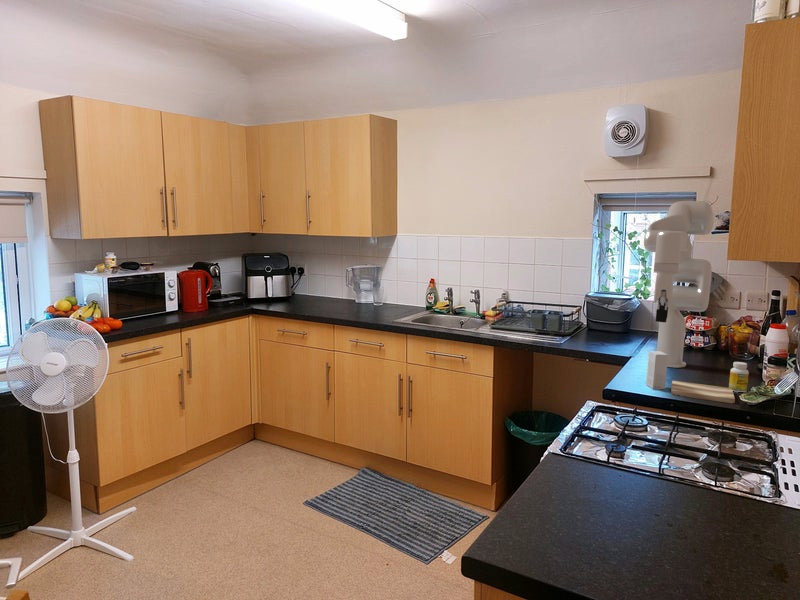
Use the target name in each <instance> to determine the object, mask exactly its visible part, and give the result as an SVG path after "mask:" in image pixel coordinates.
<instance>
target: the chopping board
mask: <svg viewBox="0 0 800 600" xmlns="http://www.w3.org/2000/svg"><path fill="white" fill-rule="evenodd" d="M670 390H671V391H670V395H671V394H674V395H673V396H677V395H680V396H679V397H684V396H685V397H686V398H693V399H699V400H706V401H714V402H722V403H728V404H733V403H734V404H735V403H736V398H735V395H734V394H735V393H734V392H733V391H732V388H729V387H725V386H724V387H723V386H716V385H708V384H701V383H694V382H686V381H679V380H672V381H671V389H670ZM685 397H684V398H685Z"/></svg>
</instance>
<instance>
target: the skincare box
mask: <svg viewBox="0 0 800 600" xmlns="http://www.w3.org/2000/svg"><path fill="white" fill-rule="evenodd" d="M647 360H648V361H647V369H646V381H645V386H647V385H648V387H649V388H650V389H652V390H660V389H666V383H667V373H668V367H667V362H668V355H667V354H665V353H663V352H661V351H657V350H648V359H647Z"/></svg>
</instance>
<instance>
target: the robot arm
mask: <svg viewBox="0 0 800 600" xmlns="http://www.w3.org/2000/svg"><path fill="white" fill-rule="evenodd" d="M713 227H714V212H713V208H712V205H711V204H710V203H709V202H707V201H703V200H701V201H698V200H695V201H694V200H682V201H681V200H680V201H676V202H674V203H672V204H671V205H670V206H669V207H668V211H667V213H666V214H665V215H664V216H663V218H660V219H658V220H655V221H653V222H651V223H650V224H649V226H648V227H647V229H646V232H645V235H644V238H643V247H644V249H645V250H646V251H648V252H649V253H650V252H651V253H655V254H654V264H653V273H654V274H656V277H655V284H654V294H653V295H654V297H653V302H654V303H656V302H657V308H656V313H655V322H658V334H657V343H656V351H661V352H663V353H665V354H667V355H668V362H667V368H675V369H676V368H677V369H678V368H685V367H687V363H686V362H685V361H683V356H684V345H685V336H686V328H687V327H686V325H687V324H686V323H687V322H686V319H685V317H684V316H683V314H682V313H681V312H680V311H685V312H686V311H688V312H697V313H699V312H700V313H701V312H705V311H707V309H708V306H709V303H710V302H709V301H710V293H711V285H712V272H713V271H712V268H713V267H712V264H711V262H710V261H709V260H707V259H702V258H692V257H693V249H694V248H693V244H692V241H691V237H690V236H689V235H693V236H697V235H698V236H705V235H709V234H710V233H711V232H712V231H713ZM675 282H676V283H682V284H683V283H685V284H695V285H696V286H689V285H676V284H674V283H675Z"/></svg>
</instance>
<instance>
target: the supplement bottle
mask: <svg viewBox="0 0 800 600" xmlns="http://www.w3.org/2000/svg"><path fill="white" fill-rule="evenodd" d="M732 366H733V367H732V368H730V371H729V382H728V388H732V391H734V392H733V393H738V392H745V393H747V390H748V385H749V384H748V383H749V375H750V374H749V373H750V372H749V370H748V369H747V368H748V363H746V362H743V361H734V362H733V365H732Z"/></svg>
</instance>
